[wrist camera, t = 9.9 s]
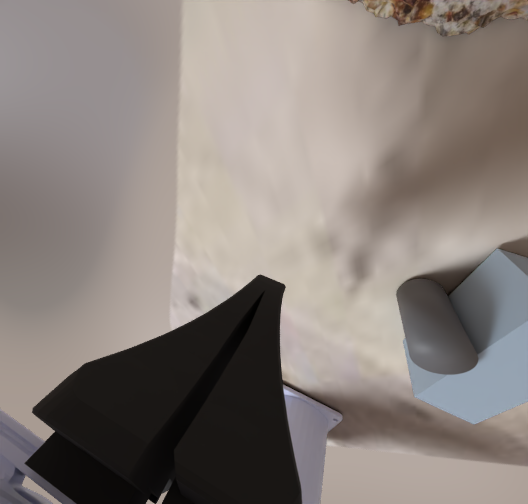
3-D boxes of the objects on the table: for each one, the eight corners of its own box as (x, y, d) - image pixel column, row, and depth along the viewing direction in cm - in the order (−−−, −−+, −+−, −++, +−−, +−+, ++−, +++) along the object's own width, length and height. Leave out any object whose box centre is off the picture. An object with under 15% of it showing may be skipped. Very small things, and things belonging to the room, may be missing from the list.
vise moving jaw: (452, 361, 14) (481, 435, 11) (368, 326, 15) (371, 383, 12) (576, 273, 10) (693, 354, 6) (443, 231, 11) (482, 281, 7)
